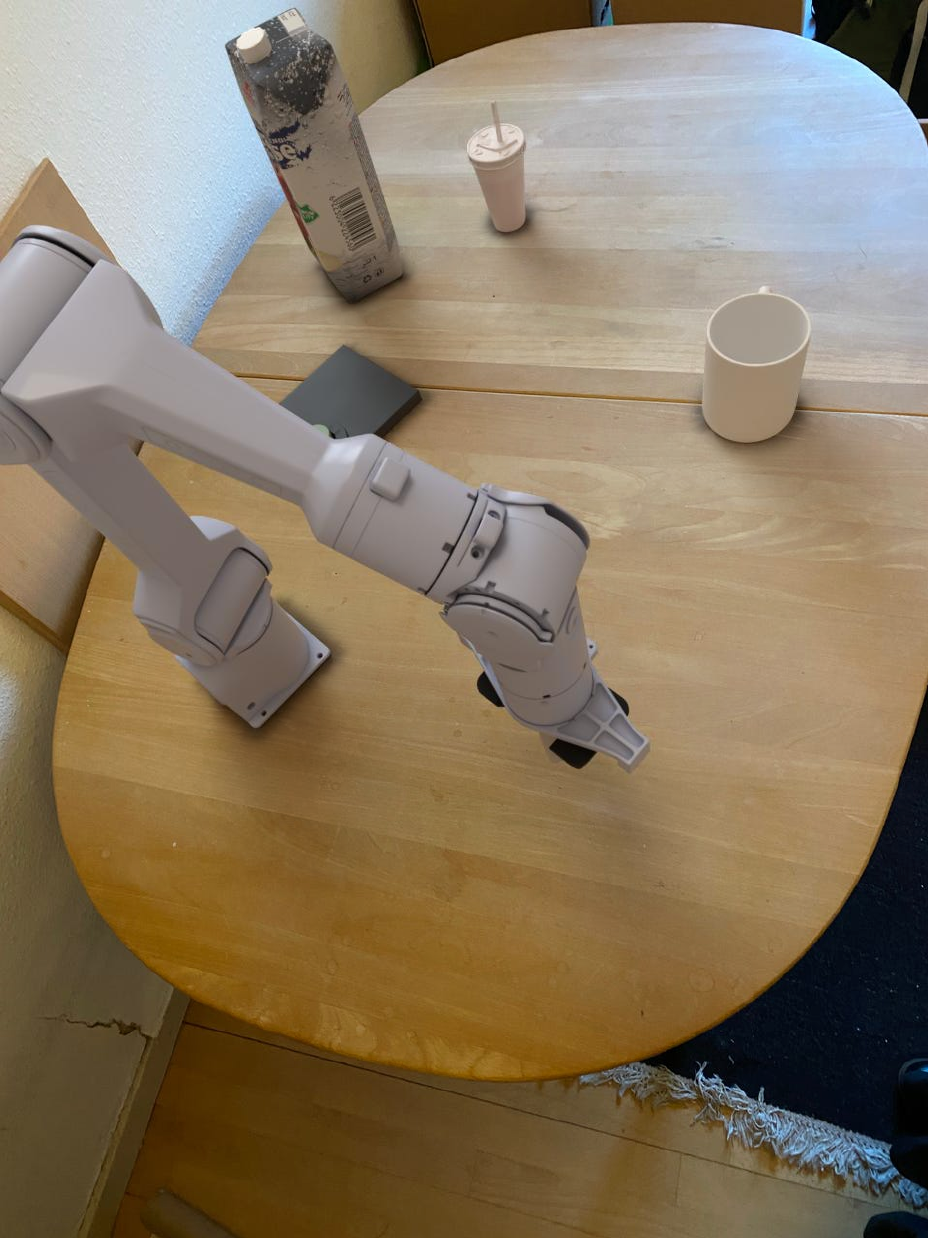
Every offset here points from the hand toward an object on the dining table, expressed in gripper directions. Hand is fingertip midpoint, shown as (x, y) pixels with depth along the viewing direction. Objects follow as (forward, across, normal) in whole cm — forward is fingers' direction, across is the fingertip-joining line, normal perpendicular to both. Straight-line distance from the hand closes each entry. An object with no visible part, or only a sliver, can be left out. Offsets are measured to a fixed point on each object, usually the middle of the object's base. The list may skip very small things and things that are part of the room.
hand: (561, 730), depth 60 cm
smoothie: (+7, +47, -45) cm, 65 cm away
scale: (+7, +43, -13) cm, 45 cm away
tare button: (+4, +39, -8) cm, 40 cm away
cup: (+7, +10, -38) cm, 40 cm away
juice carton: (+7, +57, -30) cm, 64 cm away
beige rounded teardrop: (+2, 0, 0) cm, 2 cm away
